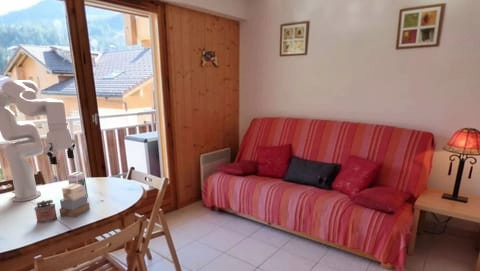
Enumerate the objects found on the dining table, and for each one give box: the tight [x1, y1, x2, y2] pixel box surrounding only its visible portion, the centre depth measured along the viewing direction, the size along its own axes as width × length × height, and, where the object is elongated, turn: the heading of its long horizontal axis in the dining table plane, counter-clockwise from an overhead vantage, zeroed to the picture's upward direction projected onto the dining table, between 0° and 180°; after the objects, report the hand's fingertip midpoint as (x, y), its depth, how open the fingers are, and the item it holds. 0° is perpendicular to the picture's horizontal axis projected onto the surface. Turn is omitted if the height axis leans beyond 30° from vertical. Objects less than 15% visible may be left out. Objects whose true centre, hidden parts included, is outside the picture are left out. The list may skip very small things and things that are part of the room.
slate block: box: [59, 196, 88, 210], centre depth 138 cm, size 8×8×4 cm
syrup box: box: [67, 171, 89, 198], centre depth 154 cm, size 6×6×14 cm
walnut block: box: [58, 201, 91, 218], centre depth 139 cm, size 9×9×4 cm
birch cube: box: [61, 184, 84, 201], centre depth 138 cm, size 6×6×6 cm
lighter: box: [34, 199, 58, 225], centre depth 131 cm, size 8×3×10 cm, turn 114°
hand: (62, 161), depth 137 cm, fingers open, 9 cm apart
